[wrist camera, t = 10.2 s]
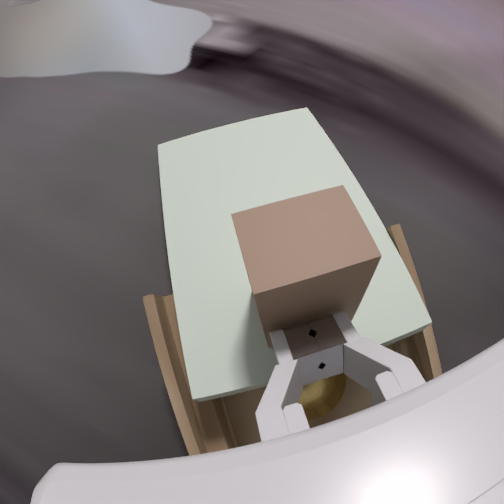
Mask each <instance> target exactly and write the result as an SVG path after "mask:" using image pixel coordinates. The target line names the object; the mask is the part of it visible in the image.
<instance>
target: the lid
mask: <svg viewBox="0 0 504 504" xmlns="http://www.w3.org/2000/svg"><path fill="white" fill-rule="evenodd" d="M158 156H159V171H160V183H161V195H162V206H163V216H164V225H165V234H166V243H167V251H168V259H169V267H170V274H171V281H172V288H173V295H174V302H175V308H176V314H177V321H178V327H179V332H180V338H181V344H182V349H183V355H184V360H185V365H186V370H187V375H188V380H189V385H190V390H191V395H192V399H193V400H195V401H198V402H202V401H207V400H211V399H216V398H220V397H225V396H229V395H233V394H237V393H241V392H245V391H249V390H253V389H257V388H261V387H265V386H267V385H268V382H269V380H270V377H271V375H272V372H273V370H274V368H275V366H276V365H278V363H277V360H276V356H275V352H274V349H273V345H272V341H271V337H270V332H272V331H276V330H280V329H283V328H287V327H290V326H294V325H298V324H301V323H305V322H307V321H310V320H313V319H316V318H319V317H322V316H325V315H328V314H332V313H335V312H338V311H341V310H344V311H345V312H346V314H347V316H348V317H349V319H350V321H351V322H352V324H353V326H354V328H355V329H356V331H357V333H358V334H359V336H360V338H362V337H365V338H367V339H369V340H372V341H374V342H376V343H378V344H380V345H382V346H387V345H389V344H392V343H394V342H397V341H399V340H402V339H404V338H406V337H409V336H411V335H413V334H416V333H418V332H420V331H422V330H424V329H425V328H426V327H427V326H429V325H430V324H431V323H432V321H431V318H430V316H429V314H428V312H427V309H426V307H425V305H424V303H423V301H422V299H421V297H420V294H419V292H418V290H417V288H416V286H415V284H414V282H413V280H412V278H411V276H410V274H409V272H408V270H407V268H406V266H405V264H404V262H403V260H402V258H401V256H400V255H399V253H398V251H397V249H396V247H395V245H394V243H393V241H392V240H391V238H390V236H389V234H388V232H387V231H386V229H385V227H384V225H383V223H382V222H381V220H380V218H379V217H378V215H377V213H376V211H375V210H374V208H373V206H372V205H371V203H370V201H369V200H368V198H367V196H366V195H365V193H364V191H363V190H362V188H361V186H360V185H359V183H358V182H357V180H356V178H355V177H354V175H353V174H352V172H351V170H350V169H349V167H348V166H347V164H346V163H345V161H344V160H343V158H342V157H341V155H340V154H339V152H338V151H337V149H336V148H335V146H334V145H333V143H332V142H331V140H330V139H329V137H328V136H327V135H326V133H325V132H324V130H323V129H322V127H321V126H320V125H319V123H318V122H317V120H316V119H315V118H314V116H313V115H312V114H311V112H310V111H309V109H308V108H302V109H296V110H291V111H286V112H281V113H276V114H272V115H267V116H262V117H258V118H254V119H249V120H245V121H241V122H237V123H233V124H229V125H225V126H221V127H217V128H214V129H210V130H206V131H203V132H199V133H196V134H192V135H189V136H185V137H182V138H179V139H175V140H172V141H169V142H166V143H163V144H160V145H158Z"/></svg>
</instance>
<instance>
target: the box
mask: <svg viewBox="0 0 504 504" xmlns="http://www.w3.org/2000/svg"><path fill="white" fill-rule="evenodd" d="M386 231H387V232H388V234H389V236H390V238H391V240H392V241H393V243H394V245H395V247H396V249H397V251H398V253H399V255H400V256H401V258H402V260H403V262H404V264H405V266H406V268H407V270H408V272H409V274H410V276H411V278H412V280H413V282H414V284H415V286H416V288H417V290H418V292H419V294H420V297H421V299H422V301H423V303H424V305H425V307H426V303H425V300H424V296H423V293H422V290H421V286H420V283H419V280H418V276H417V273H416V270H415V267H414V264H413V261H412V258H411V255H410V252H409V249H408V246H407V243H406V241H405V238H404V235H403V232H402V230H401V227H400V224H396V225H392V226H390V227H389V228H387V229H386ZM143 301H144V305H145V310H146V314H147V318H148V322H149V326H150V330H151V334H152V338H153V342H154V346H155V350H156V353H157V357H158V360H159V364H160V368H161V371H162V374H163V378H164V381H165V385H166V388H167V391H168V394H169V398H170V401H171V404H172V407H173V410H174V413H175V416H176V419H177V422H178V425H179V428H180V431H181V434H182V436H183V439H184V442H185V445H186V447H187V450H188V453H189V455H190V456H191V455H198V454H204V453H210V452H216V451H221V450H226V449H231V448H236V447H241V446H246V445H250V444H254V443H259V442H261V437H260V433H259V428H258V423H257V419H256V414H255V412H256V410H257V408H258V406H259V403H260V401H261V399H262V396H263V394H264V392H265V390H264V387H261V388H257V389H253V390H249V391H245V392H241V393H237V394H233V395H229V396H225V397H220V398H216V399H211V400H207V401H202V402H198V401H195V400H193V399H192V395H191V390H190V385H189V380H188V375H187V370H186V365H185V360H184V355H183V349H182V344H181V338H180V332H179V327H178V321H177V314H176V308H175V302H174V295H173V294H172V295H169V296H165V297H162V296H159V295H155V294H151V295H147V296H144V297H143ZM426 309H427V307H426ZM427 312H428V311H427ZM384 347H386V348H388V349H390V350H393V351H395V352H397V353H399V354H401V355H403V356H405V357H407V358H410V359H412V361H413V362H414V364H415V366H416V367H417V369H418V370H419V372H420V374H421V375H422V377H423V378H424V380H425V382H428V381H430V380H432V379H434V378H436V377H438V376H440V375H442V370H441V365H440V360H439V355H438V351H437V346H436V342H435V338H434V334H433V330H432V326H431V324H430V325H429V326H427V327H426V328H425V329H424V330H422V331H420V332H418V333H416V334H413V335H411V336H409V337H406V338H404V339H402V340H399V341H397V342H394V343H392V344H389V345H387V346H384ZM346 377H347V380H346V388H345V391H344V394H343V396H342V398H341V400H340V401H339V403H338V404H337V405H336V406H335V407H334V408H333V409H332V410H331V411H330V412H328V413H327V414H325V415H324V416H322V417H319V418H317V419H313V420H307V421H308V424H309V427H310V428H313V427H316V426H319V425H323V424H326V423H329V422H332V421H334V420H337V419H340V418H343V417H346V416H349V415H351V414H354V413H357V412H359V411H362V410H364V409H367V408H369V407H371V401H372V396H373V393H372V392H370V391H369V390H367V389H366V388H364V387H363V386H361V385H360V384H359V383H357V382H356V381H354V380H353V379H351V378H350V377H348V376H347V375H346Z"/></svg>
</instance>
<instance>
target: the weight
mask: <svg viewBox="0 0 504 504" xmlns="http://www.w3.org/2000/svg"><path fill="white" fill-rule="evenodd" d="M346 380H347V377H346V375H345V374H344V373H341V374H338V375H335V376H331V377H328V378H325V379H322V380H319V381H316V382H313V383H310V384H307V385H304V386H303V389H302V392H301V396H300V399H299V404H302V407H303V410H304V413H305V416H306V418H307V420H313V419H317V418H319V417H322V416H324V415H325V414H327V413H328V412H330V411H331V410H332V409H333V408H334V407H335V406H336V405H337V404H338V403H339V401H340V400H341V398H342V396H343V394H344V391H345V388H346ZM266 387H267V386H265V387H264V390H265V389H266Z"/></svg>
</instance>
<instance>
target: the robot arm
mask: <svg viewBox="0 0 504 504" xmlns="http://www.w3.org/2000/svg"><path fill="white" fill-rule="evenodd" d="M270 337H271V341H272V345H273V349H274V352H275V356H276V360H277V363H278V365H276V366H275V368H274V370H273V372H272V375H271V377H270V380H269V382H268V385H267V387H266V389H265V392H264V394H263V396H262V399H261V401H260V403H259V406H258V408H257V410H256V412H255V414H256V419H257V423H258V428H259V433H260V437H261V442H259V443H254V444H250V445H246V446H241V447H236V448H231V449H226V450H221V451H216V452H210V453H204V454H198V455H191V456H184V457H176V458H168V459H159V460H148V461H136V462H119V463H57V464H55V465H54V466H53V467H52V468H50V469H49V471H48V472H47V473H46V474H45V475H44V476H43V478H42V479H41V480H40V481H39V483H38V484H37V485H36V487H35V489H34V491H33V495H32V499H31V504H504V338H503V339H502V340H500V341H499V342H497V343H496V344H494V345H492V346H491V347H489V348H488V349H486V350H484V351H483V352H481V353H479V354H478V355H476V356H474V357H473V358H471V359H469V360H467V361H466V362H464V363H462V364H460V365H459V366H457V367H455V368H453V369H451V370H449V371H447V372H446V373H444V374H442V375H440V376H438V377H436V378H434V379H432V380H430V381H428V382H425V380H424V378H423V377H422V375H421V374H420V372H419V370H418V369H417V367H416V366H415V364H414V362H413V361H412V359H410V358H407V357H405V356H403V355H401V354H399V353H397V352H395V351H393V350H390V349H388V348H386V347H384V346H382V345H380V344H378V343H376V342H374V341H372V340H369V339H367V338H365V337H362V338H360V336H359V334H358V333H357V331H356V329H355V328H354V326H353V324H352V322H351V321H350V319H349V317H348V316H347V314H346V312H345V311H344V310H341V311H338V312H335V313H332V314H328V315H325V316H322V317H319V318H316V319H313V320H310V321H307V322H305V323H301V324H298V325H294V326H290V327H287V328H283V329H280V330H276V331H272V332H270ZM341 373H344V374H345V375H347V376H348V377H350V378H351V379H353V380H354V381H356V382H357V383H359V384H360V385H361V386H363V387H364V388H366V389H367V390H369V391H370V392H372V393H373V396H372V401H371V407H369V408H367V409H364V410H362V411H359V412H357V413H354V414H351V415H349V416H346V417H343V418H340V419H337V420H334V421H332V422H329V423H326V424H323V425H319V426H316V427H313V428H310V427H309V424H308V421H307V418H306V416H305V413H304V410H303V407H302V404H299V399H300V396H301V392H302V389H303V386H304V385H307V384H310V383H313V382H316V381H319V380H322V379H325V378H328V377H331V376H335V375H338V374H341Z"/></svg>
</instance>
